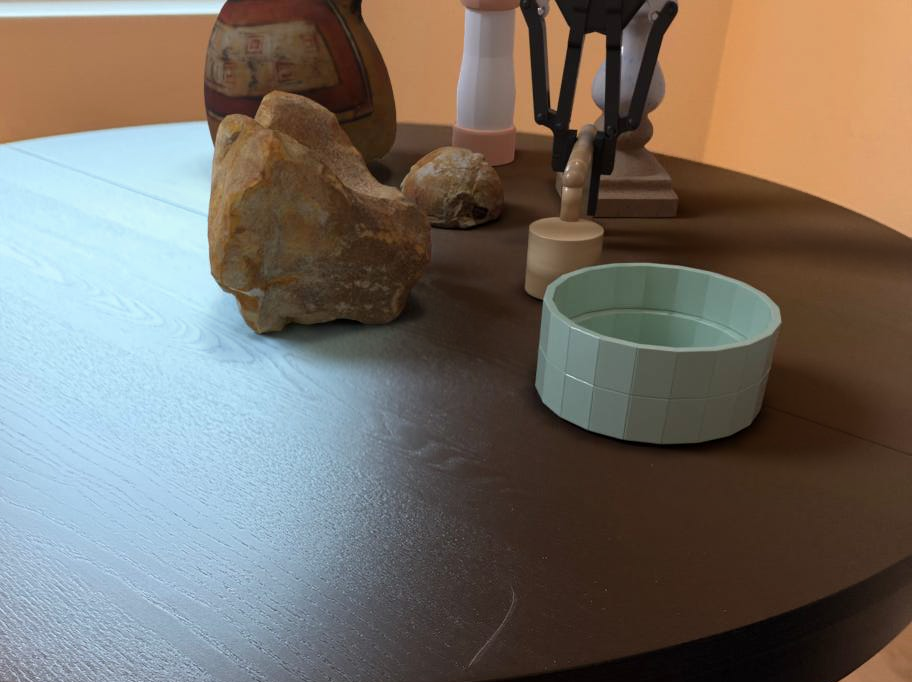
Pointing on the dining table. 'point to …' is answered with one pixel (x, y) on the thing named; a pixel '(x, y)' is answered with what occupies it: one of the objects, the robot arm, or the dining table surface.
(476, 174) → the bread roll
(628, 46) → the candle holder
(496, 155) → the pepper shaker
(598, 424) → the mixing bowl
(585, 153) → the hooked weight
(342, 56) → the reddish ceramic vase
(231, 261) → the rough brown rock
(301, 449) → the dining table surface
